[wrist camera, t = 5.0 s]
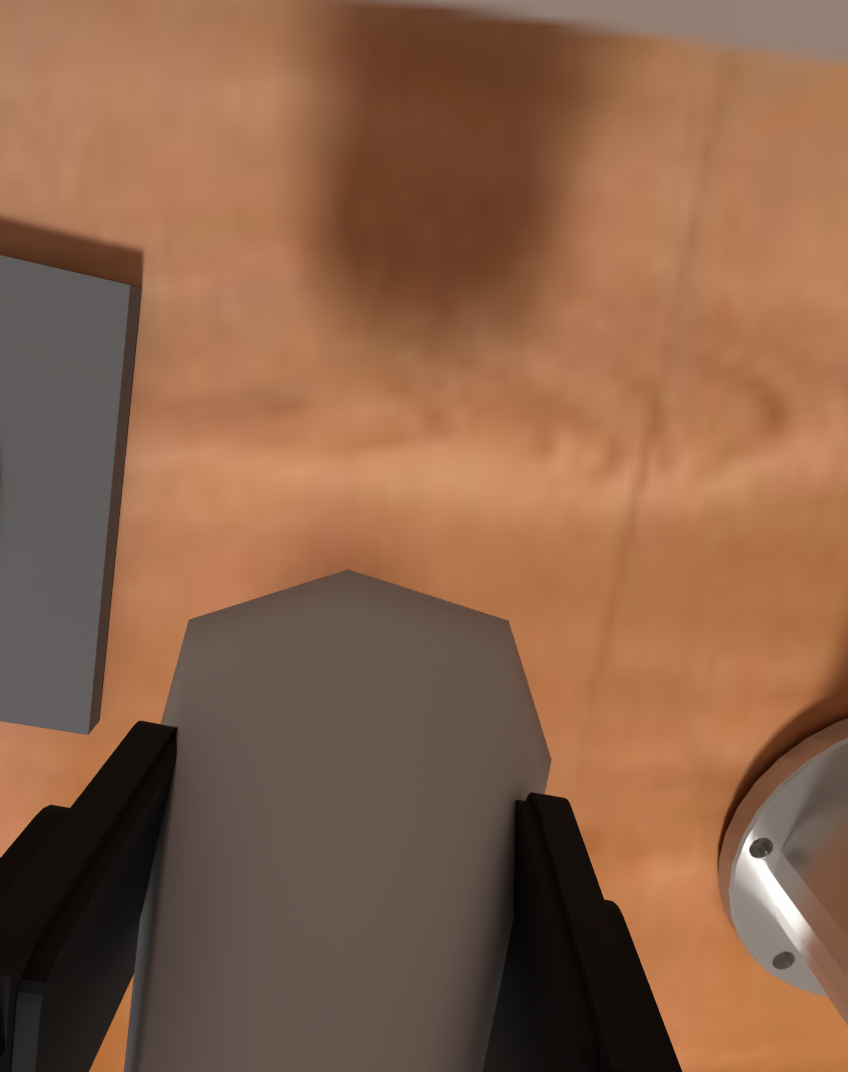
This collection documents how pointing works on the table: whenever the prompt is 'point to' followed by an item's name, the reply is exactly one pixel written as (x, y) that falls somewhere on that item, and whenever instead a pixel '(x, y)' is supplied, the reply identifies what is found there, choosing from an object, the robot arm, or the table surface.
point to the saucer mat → (60, 485)
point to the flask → (335, 836)
